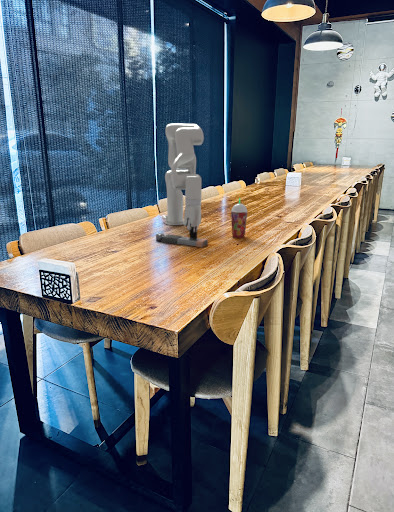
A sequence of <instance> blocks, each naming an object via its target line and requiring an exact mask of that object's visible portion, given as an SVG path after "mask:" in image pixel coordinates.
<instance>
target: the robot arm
mask: <svg viewBox="0 0 394 512" xmlns="http://www.w3.org/2000/svg"><path fill="white" fill-rule="evenodd" d="M165 136H166V139H167V142H168V143H167V144H168V156H167V157H168V159H167V160H168V162H167V163H168V167H169V168H170V170H167V171H166V172H165V175H164V179H165V180H164V181H165V185H166V187H165V188H166V204H167V205H166V207H167V211H166V212H167V215H162V220H165V221H164V224H165V225H167V226H168V225H169V226H182V225H183V226H184V227H186V229H187V230H188V232H189V237H190V238H198V228H199V226H200V225H201V223H202V208H201V206H202V177H201V175H200V174H197V172H196V170H197V157H196V153H195V148H194V146H201V145H202V144H203V143H204V139H205V137H204V132H203V129H202V128H201V127H200V126H199V125H198V124H196V123H169V124H167V125H166V127H165ZM182 190H183V191H184V190H185V192H182ZM183 193H184V194H183ZM184 196H185V200H184ZM184 201H185V208H184Z"/></svg>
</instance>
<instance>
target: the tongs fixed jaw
mask: <svg viewBox="0 0 394 512" xmlns="http://www.w3.org/2000/svg"><path fill="white" fill-rule="evenodd" d="M161 243H164V244H172V245H183V246H192V247H197V248H204V247H206V246H205V241H204V240H194V239H186V238H179V237H172V236H163V237H162V241H161Z"/></svg>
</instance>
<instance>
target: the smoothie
mask: <svg viewBox="0 0 394 512" xmlns="http://www.w3.org/2000/svg"><path fill="white" fill-rule="evenodd" d="M230 214H231V215H230V216H231V220H230V221H231V235H232V237H233V238H235V239H236V238H237V239H242V238H244V237H245V235H246V228H247V221H248V220H247V218H248V208H247V206H245V204H243V203H241V197H239V198H238V203H236V204H234V205H233V206H232V209H231V210H230Z"/></svg>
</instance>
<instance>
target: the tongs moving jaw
mask: <svg viewBox="0 0 394 512" xmlns="http://www.w3.org/2000/svg"><path fill="white" fill-rule="evenodd" d="M163 236H172V237H179V238H186V239H194V240H204V241H205V246H204V247H206V246H207V245H208V243H209V242H208V240H209V239H208V238H198V237H197V238H190V236H189V237H188V236H183V235H177V234H176V235H175V234H164V233H156V234H155V241H157V242H162V237H163Z"/></svg>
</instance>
